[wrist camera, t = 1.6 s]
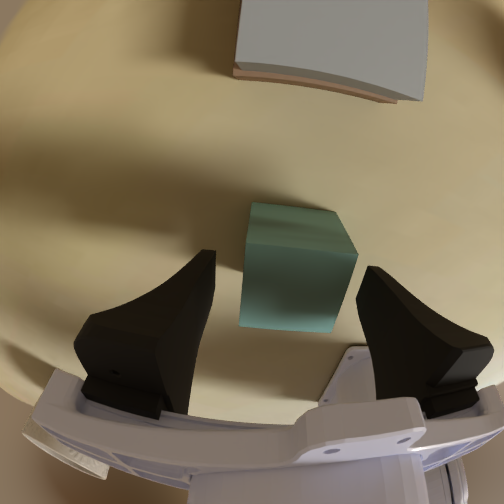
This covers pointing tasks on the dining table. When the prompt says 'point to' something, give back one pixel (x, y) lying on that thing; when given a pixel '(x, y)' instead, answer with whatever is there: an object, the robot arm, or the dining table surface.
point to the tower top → (339, 42)
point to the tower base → (303, 80)
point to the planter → (62, 450)
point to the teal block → (295, 268)
